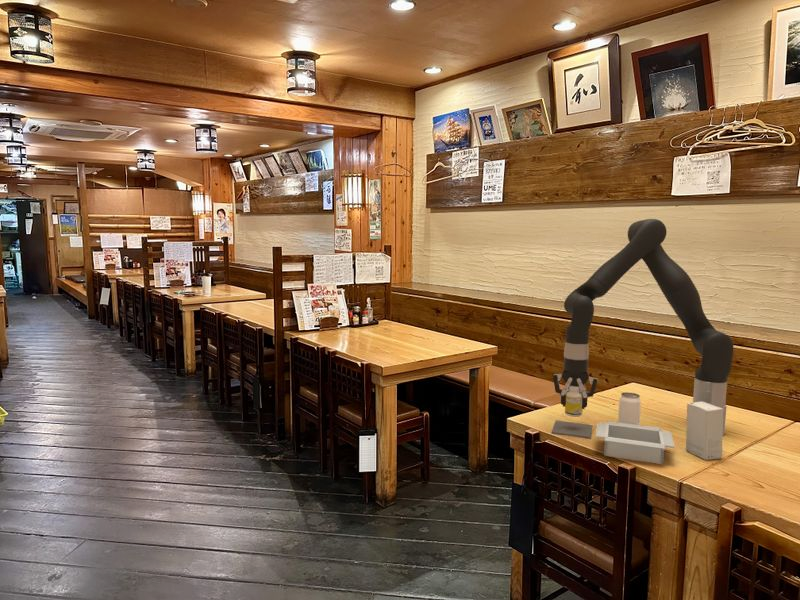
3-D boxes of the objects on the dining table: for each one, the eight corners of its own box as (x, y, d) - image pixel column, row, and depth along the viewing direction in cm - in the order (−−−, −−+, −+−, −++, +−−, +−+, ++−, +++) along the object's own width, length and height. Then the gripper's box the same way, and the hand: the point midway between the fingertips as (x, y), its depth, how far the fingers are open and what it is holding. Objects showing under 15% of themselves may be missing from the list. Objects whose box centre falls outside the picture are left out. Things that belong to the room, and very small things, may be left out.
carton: (668, 446, 169) (670, 429, 168) (673, 469, 152) (675, 449, 152) (596, 436, 176) (597, 420, 175) (594, 457, 160) (595, 439, 159)
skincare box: (722, 459, 159) (726, 409, 158) (704, 461, 158) (708, 410, 156) (700, 448, 168) (704, 400, 166) (683, 449, 166) (686, 401, 164)
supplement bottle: (569, 410, 185) (571, 382, 184) (585, 414, 181) (586, 385, 180) (561, 414, 181) (563, 385, 180) (576, 418, 177) (578, 388, 176)
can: (640, 434, 178) (643, 398, 177) (619, 433, 180) (621, 397, 178) (636, 427, 185) (638, 392, 183) (616, 426, 186) (618, 391, 184)
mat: (592, 426, 185) (592, 424, 185) (590, 439, 174) (590, 437, 174) (555, 421, 190) (555, 420, 190) (551, 433, 179) (551, 431, 178)
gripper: (600, 355, 180) (597, 406, 182) (554, 352, 185) (552, 401, 187) (599, 360, 173) (596, 413, 175) (551, 356, 178) (549, 407, 180)
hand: (573, 406), depth 181 cm, fingers closed on supplement bottle, 5 cm apart
